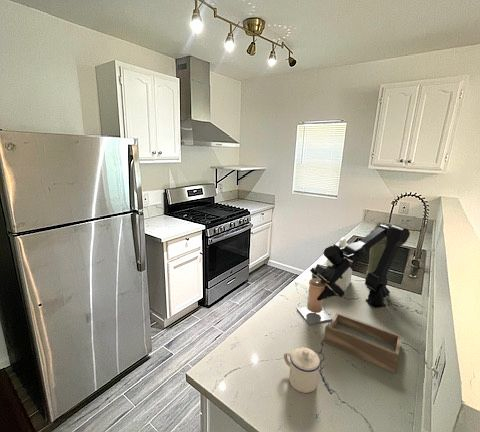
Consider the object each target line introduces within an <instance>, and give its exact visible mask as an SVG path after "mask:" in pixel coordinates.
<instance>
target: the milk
mask: <svg viewBox="0 0 480 432" xmlns="http://www.w3.org/2000/svg"><path fill="white" fill-rule="evenodd" d="M346 240H347V239H346V237H345V236H342V237H341V238H340V239H339V243H337V244H336V245H337V246H338V247H339V248H344V247H346V246H347V245H349V243H347V241H346ZM344 258H346V257H344ZM346 259H347V258H346ZM348 260H349V259H348ZM349 261H351V262H353V261H352V260H349ZM353 263H354V262H353ZM329 265H330V266H332V265H333V264H332V263H331V262H330V261H329V260H328V259H327V260H326V266H325V267H327V266H329ZM352 272H353V269H351V268H350V267H349V268H348V269H347V270H346V272H345V273H344V274H343V275H342V277H343V278H342V279H340V278H339V279H338V280H337V281H336V282H335V283H336V284H337V285H338V286H339V287H340V288H341V289H342V290H343V291H346V290H347V289H348V287H349V285H350V283H352V274H353V273H352Z"/></svg>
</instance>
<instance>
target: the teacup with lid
mask: <svg viewBox="0 0 480 432" xmlns="http://www.w3.org/2000/svg"><path fill="white" fill-rule="evenodd" d="M288 356H289V359H290V360H289V359H288ZM283 360H284V362H285V364H286V365H287V366H288V367H289V374H288V375H289V377H288V380H289V383H290V385H291V387H292V388H294V390H296V391H298V392H300V393H304V394H308V393H312V392H314V391H315V390H316V389H317V386H318V380H319V379H318V378H319V369H320V365H321V360H320V357H319V355H318V354H317V353H316V352H315V351H314V350H312V349H310V348H307V347H303V346H301V347H296V348H294V349H293V350H292V351H286V352H284V354H283Z"/></svg>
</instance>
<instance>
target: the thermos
mask: <svg viewBox="0 0 480 432" xmlns="http://www.w3.org/2000/svg"><path fill="white" fill-rule="evenodd" d="M382 224H383V225H388V226H391V225H390V224H388V223H385V222H378V223H376V225H375V227H374V229H373V230H371V231H370V232H369V234H370V233H371V232H373V231H374V230H375V229H377V228H378V226H379V225H382ZM386 245H387V237H384V238H383V239H382V240H380V241H379V242H378V243H376V244H375V245H374V246H372V247H371V248H369V253H368V254H369V259H368V267H367V271H366V272H365V278H364V280H365V281H366V278H367V275H368V273H369V272H370V273H372V272H373V271H375V269H376V267H377V265H378V263H379V260H380V258H381V256H382V254H383V251H384V249H385V247H386ZM364 285H365V286H366V287H367V285H366V283H365V282H364Z"/></svg>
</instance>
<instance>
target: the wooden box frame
mask: <svg viewBox="0 0 480 432" xmlns="http://www.w3.org/2000/svg"><path fill="white" fill-rule="evenodd" d="M338 324H339V325H342V326H345V327H348V328H351V329H353V330H354V331H355V330H356V331H358V332H360V333H363V334H365V335H369V336H371V337H373V338H376V339H379V340H381V341H384V342H388V343H389V344H392V345H394V346H395V350H391V349H389V348H386V347H382V346H381V345H377V344H375V343H373V342H370V341H368V340H365V339H363V338H360V337H358V336H354V335H352V334H350V333H348V332H345V331H343V330H340V329H339V328H336V326H337V325H338ZM401 342H402V335H401V334H397V333H394V332H392V331H388V330H387V329H383V328H380V327H378V326H375V325H372V324H369V323H367V322H364V321H361V320H358V319H355V318H354V317H353V318H352V317H350V316H347V315H345V314H343V313H342V314H341V313H339V312H336V313H335V315H334V316H333V318H332V321H330V323H329V325H327V324H326V325H325V328H324V336H323V343H325V344H327V345H329V346H332V347H333V348H336V349H338V350H341V351H343V352H345V353H348V354H350V355H353V356H354V357H357V358H360V359H362V360H364V361H367V362H369V363H371V364H374V365H375V366H378V367H380V368H382V369H384V370H388V371H390V372H391V373H395V374H396V371H397V366H398V362H399V357H400V347H401Z"/></svg>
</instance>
